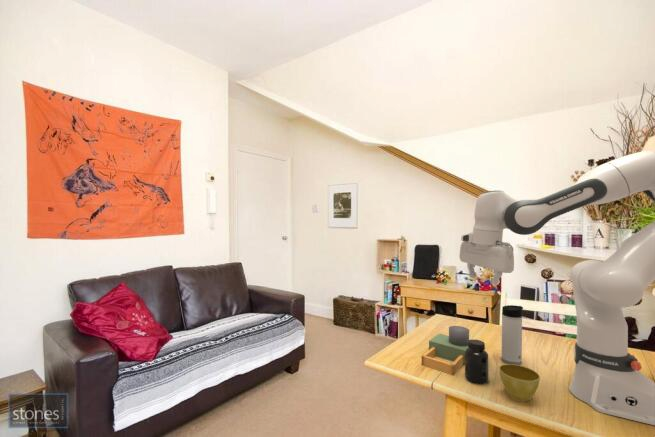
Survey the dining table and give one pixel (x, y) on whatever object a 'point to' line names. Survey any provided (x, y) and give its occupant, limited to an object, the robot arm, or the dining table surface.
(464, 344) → the green block with knob
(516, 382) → the flower pot
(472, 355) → the supplement bottle
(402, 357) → the dining table surface
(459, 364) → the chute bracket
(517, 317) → the travel mug
